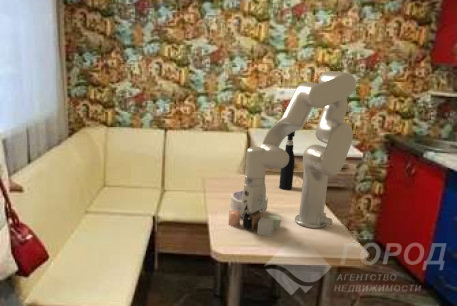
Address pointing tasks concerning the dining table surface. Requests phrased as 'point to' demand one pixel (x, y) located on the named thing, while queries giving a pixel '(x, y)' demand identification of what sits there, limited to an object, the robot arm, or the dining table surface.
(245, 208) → the robot arm
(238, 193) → the paper bowls
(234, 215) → the cylinder
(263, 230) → the grey cube
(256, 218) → the walnut block
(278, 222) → the sage cube
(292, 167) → the wine bottle
